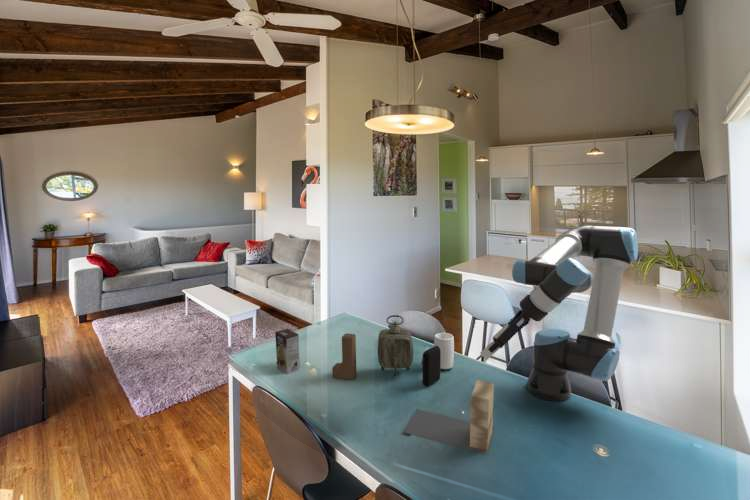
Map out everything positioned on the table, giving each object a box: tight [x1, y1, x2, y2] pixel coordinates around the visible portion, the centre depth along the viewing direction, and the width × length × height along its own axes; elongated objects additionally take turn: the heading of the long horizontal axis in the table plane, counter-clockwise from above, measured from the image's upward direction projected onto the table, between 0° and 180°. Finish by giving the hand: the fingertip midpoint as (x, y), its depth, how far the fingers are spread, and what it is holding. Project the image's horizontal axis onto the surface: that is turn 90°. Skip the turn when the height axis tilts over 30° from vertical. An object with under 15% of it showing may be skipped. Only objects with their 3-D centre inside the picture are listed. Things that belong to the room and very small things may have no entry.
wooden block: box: [331, 332, 357, 381], centre depth 157 cm, size 9×4×18 cm, turn 72°
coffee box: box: [274, 328, 301, 375], centre depth 165 cm, size 9×6×16 cm
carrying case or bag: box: [421, 345, 441, 388], centre depth 150 cm, size 11×3×15 cm, turn 134°
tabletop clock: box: [377, 314, 414, 377], centre depth 158 cm, size 14×9×25 cm, turn 88°
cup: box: [433, 332, 455, 370], centre depth 164 cm, size 8×8×14 cm
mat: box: [402, 408, 496, 456], centre depth 121 cm, size 26×14×1 cm, turn 65°
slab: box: [469, 380, 495, 451], centre depth 115 cm, size 5×10×16 cm, turn 155°
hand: (489, 347), depth 120 cm, fingers open, 13 cm apart
